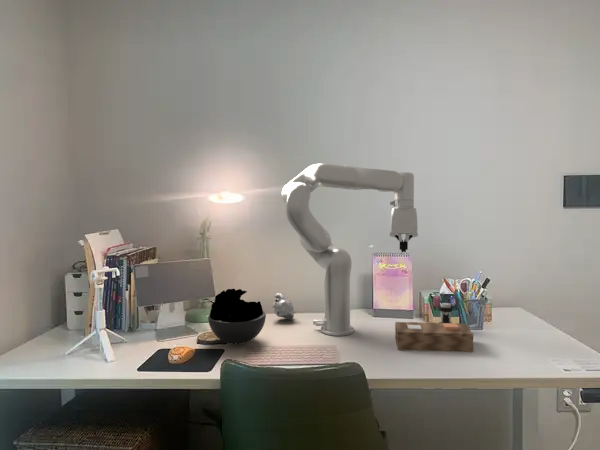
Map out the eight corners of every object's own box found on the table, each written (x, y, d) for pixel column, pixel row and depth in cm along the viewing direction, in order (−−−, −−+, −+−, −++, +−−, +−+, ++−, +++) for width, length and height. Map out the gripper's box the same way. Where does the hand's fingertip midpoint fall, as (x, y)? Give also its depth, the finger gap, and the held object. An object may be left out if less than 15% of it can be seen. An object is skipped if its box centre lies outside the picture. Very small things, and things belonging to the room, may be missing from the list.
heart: (289, 325, 184) (291, 294, 185) (268, 322, 188) (270, 292, 189) (299, 323, 193) (302, 294, 194) (279, 320, 197) (281, 292, 198)
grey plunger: (408, 345, 158) (408, 328, 157) (407, 341, 162) (407, 324, 162) (421, 346, 157) (421, 328, 157) (420, 342, 161) (420, 325, 161)
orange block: (445, 344, 156) (445, 326, 156) (442, 340, 160) (442, 323, 160) (458, 344, 155) (458, 327, 155) (456, 340, 160) (456, 323, 159)
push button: (454, 328, 178) (454, 302, 177) (458, 332, 173) (458, 305, 172) (436, 328, 178) (437, 302, 178) (439, 332, 173) (440, 305, 172)
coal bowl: (236, 331, 178) (235, 282, 177) (277, 340, 166) (276, 288, 165) (196, 345, 162) (195, 292, 160) (239, 356, 150) (238, 299, 149)
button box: (397, 349, 155) (397, 332, 154) (395, 338, 166) (395, 321, 166) (473, 352, 151) (473, 333, 151) (465, 340, 163) (465, 323, 163)
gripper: (384, 204, 178) (384, 252, 179) (424, 204, 176) (424, 253, 177) (384, 204, 185) (383, 250, 187) (422, 204, 183) (422, 250, 184)
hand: (403, 251), depth 182 cm, fingers closed
